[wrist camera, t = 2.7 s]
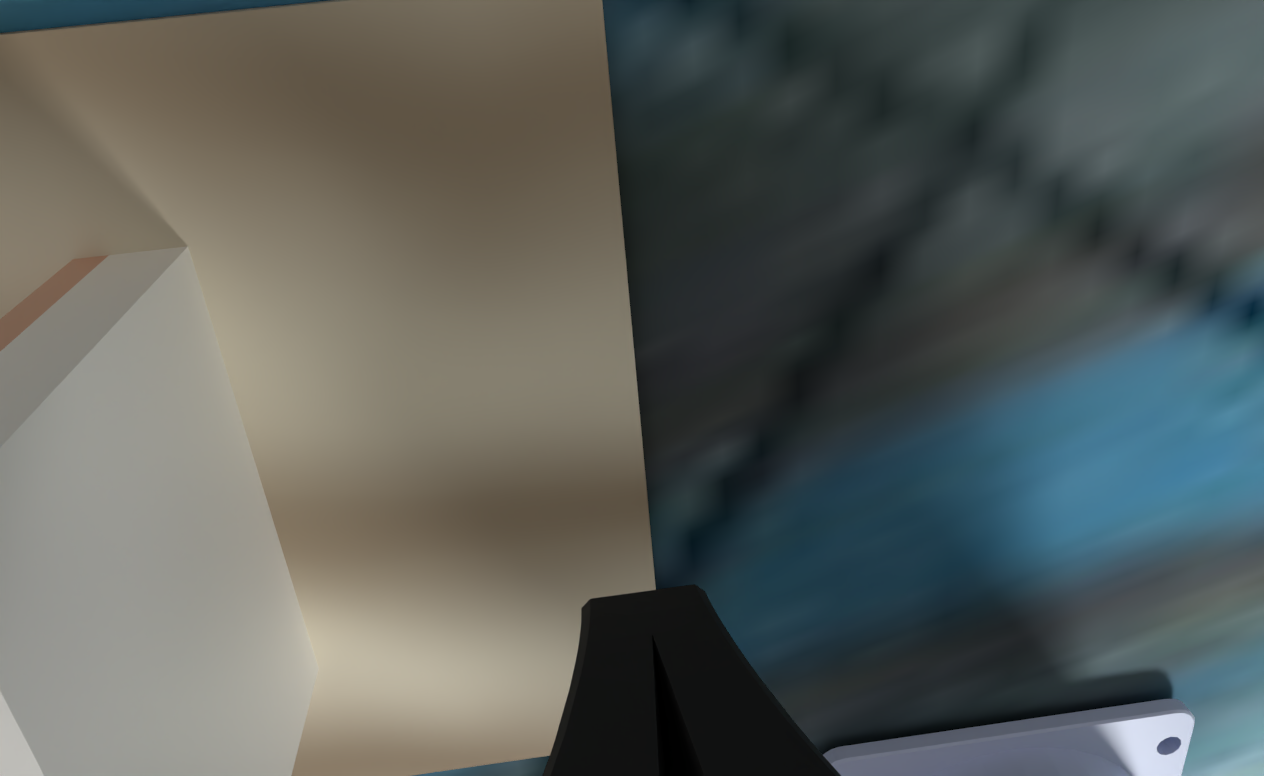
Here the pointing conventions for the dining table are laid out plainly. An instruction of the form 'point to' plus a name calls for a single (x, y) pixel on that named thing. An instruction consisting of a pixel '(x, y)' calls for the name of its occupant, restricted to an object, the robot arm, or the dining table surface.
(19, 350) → the tile
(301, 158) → the mat
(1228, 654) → the dining table surface
